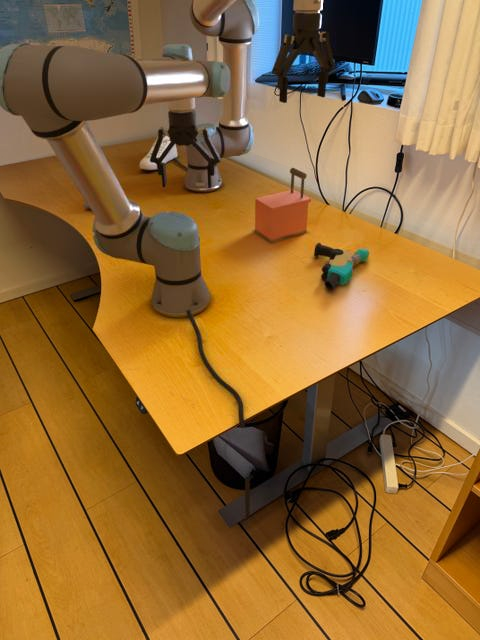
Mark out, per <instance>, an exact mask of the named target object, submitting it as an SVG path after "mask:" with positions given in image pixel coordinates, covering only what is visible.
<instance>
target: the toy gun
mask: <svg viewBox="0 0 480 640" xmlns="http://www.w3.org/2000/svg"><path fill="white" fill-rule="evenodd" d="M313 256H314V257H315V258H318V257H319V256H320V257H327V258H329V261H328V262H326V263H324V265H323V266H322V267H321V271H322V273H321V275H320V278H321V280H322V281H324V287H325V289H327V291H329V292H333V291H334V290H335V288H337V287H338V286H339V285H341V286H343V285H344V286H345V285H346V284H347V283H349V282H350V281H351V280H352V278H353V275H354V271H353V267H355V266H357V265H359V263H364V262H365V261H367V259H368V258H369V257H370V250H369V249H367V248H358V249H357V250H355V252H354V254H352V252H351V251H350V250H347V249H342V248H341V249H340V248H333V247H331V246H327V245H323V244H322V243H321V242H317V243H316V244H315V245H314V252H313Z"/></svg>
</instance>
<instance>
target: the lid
mask: <svg viewBox="0 0 480 640" xmlns="http://www.w3.org/2000/svg"><path fill="white" fill-rule="evenodd" d="M289 173H290V174H291V179H290V189H289V190H285V191H281V192H276V193H272V194H268V195H264V196H260V197H255V198H254V200H255V202H257V203H259V204H260V205H262V206H264V207H265V208H267V209H268V210H270V211H276V210H280V209H284V208H288V207H292V206H296V205H300V204H304V203H308V204H309V203H311V202H312V198H311V197H309V196H307V195H305V194H304V193H305V180H306V179H307V176H308V175H307V173H305V172H304V171H301V170H299V169H297V168H295V167H291V168H290V170H289ZM295 177H297V178H300V179H301V183H300V191H298V190H295Z"/></svg>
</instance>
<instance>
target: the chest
mask: <svg viewBox="0 0 480 640" xmlns="http://www.w3.org/2000/svg"><path fill="white" fill-rule="evenodd" d="M254 203H255V204H254V232H255V233H256V234H258V235H259V236H261V237H262V238H263V239H265V240H266V241H268V242H269V243H274V242H278V241H281V240H285V239H289V238H291V237H292V238H293V237H296V236H299V235H302V234H306V233H307V226H308V215H309V214H308V212H309V202H308V203H304V204H300V205H296V206H292V207H288V208H284V209H280V210H276V211H270V210H268V209H267V208H265V207H264V206H262V205H260V204H259V203H257V202H256V201H255V202H254Z"/></svg>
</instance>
